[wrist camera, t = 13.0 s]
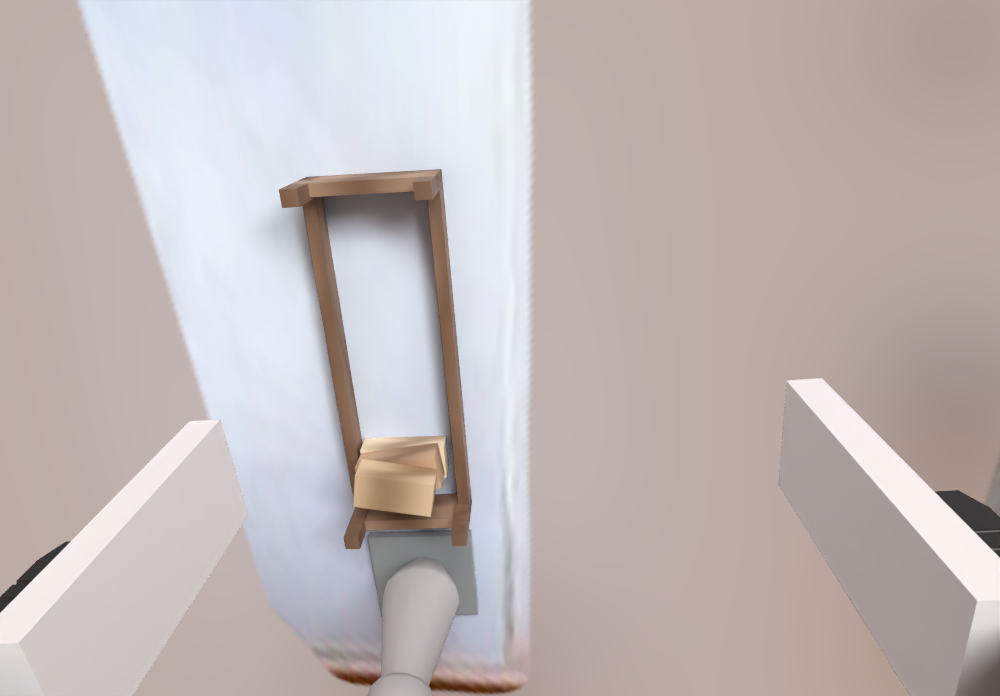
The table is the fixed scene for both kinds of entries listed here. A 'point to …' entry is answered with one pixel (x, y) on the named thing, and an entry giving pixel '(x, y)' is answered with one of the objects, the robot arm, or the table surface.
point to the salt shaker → (414, 627)
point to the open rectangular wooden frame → (309, 194)
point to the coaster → (436, 545)
